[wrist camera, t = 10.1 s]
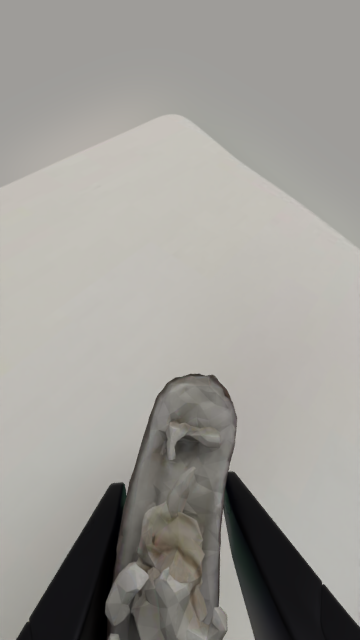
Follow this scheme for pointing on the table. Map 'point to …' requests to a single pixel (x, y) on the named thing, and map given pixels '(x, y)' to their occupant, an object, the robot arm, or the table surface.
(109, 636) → the flask
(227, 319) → the table surface
